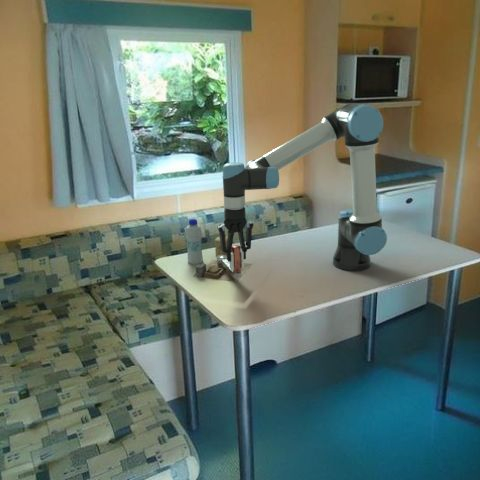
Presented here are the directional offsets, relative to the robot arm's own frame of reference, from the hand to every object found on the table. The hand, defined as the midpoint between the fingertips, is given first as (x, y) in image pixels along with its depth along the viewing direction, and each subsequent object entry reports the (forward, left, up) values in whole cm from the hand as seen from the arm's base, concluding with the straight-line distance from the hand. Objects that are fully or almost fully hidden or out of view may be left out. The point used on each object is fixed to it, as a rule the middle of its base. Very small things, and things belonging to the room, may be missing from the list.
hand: (236, 268), depth 180 cm
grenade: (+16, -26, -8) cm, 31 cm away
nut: (+12, -6, -6) cm, 15 cm away
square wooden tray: (+10, -10, -8) cm, 16 cm away
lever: (+6, -7, -4) cm, 10 cm away
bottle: (+25, -16, -8) cm, 31 cm away
